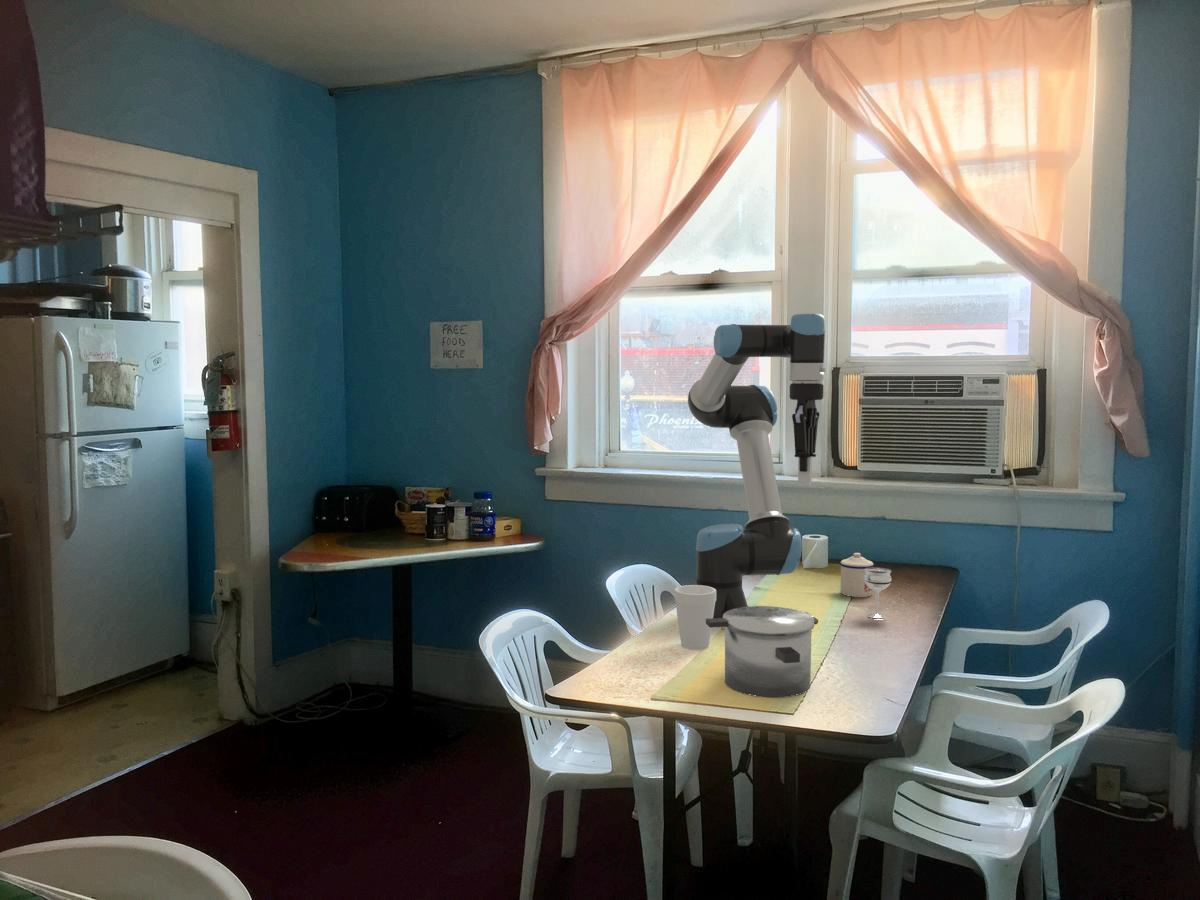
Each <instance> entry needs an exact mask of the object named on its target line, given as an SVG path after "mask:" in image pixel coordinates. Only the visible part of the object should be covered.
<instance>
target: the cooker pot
mask: <svg viewBox="0 0 1200 900" xmlns="http://www.w3.org/2000/svg"><path fill="white" fill-rule="evenodd" d="M811 668H812V630H811V631H809V632H806V633H802V634H798V635H791V636H761V635H752V634H746V633H742V632H738V631H734V630H732V629H729V628H728V627H724V683H725V685H726V686H727V687H728V688H729V689H731V690H733V691H734V692H735V691H736V692H737V693H740V692H741V693H740V694H744V693H745V694H744V695H748V694H751V695H750V696H753V695H756V696H755V697H759V696H762V698H763V697H764V698H788V697H787V696H789V697H792V696H791V695H795V696H797V695H796V694H799V695H801V694H800V693H802V694H804V693H806V692H808V691H809V690H810V689H811V675H812V674H811V672H812V671H811ZM808 689H809V690H808ZM807 690H808V691H807ZM805 691H806V692H805ZM803 692H804V693H803ZM785 696H786V697H785Z"/></svg>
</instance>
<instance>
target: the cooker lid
mask: <svg viewBox="0 0 1200 900" xmlns="http://www.w3.org/2000/svg"><path fill="white" fill-rule="evenodd" d="M818 623H819V619H818V618H816V617H815V616H813V615H812V614H811V613H809V612H807V611H805V612H804V611H802V610H797V609H793V608H789V607H783V606H772V605H771V606H770V605H766V606H765V605H759V606H758V605H753V606H748V607H741V608H736V609H732V610H729V611H727V612H725V613H724V614H723V618H709V619H706V624H707V625H708V626H709V627H710V628H712V629H713V628H725V627H728V628H729V629H732V630H734V631H738V632H742V633H746V634H752V635H761V636H791V635H798V634H802V633H806V632H809V631H811V632H812V630H813V629H814V627H815V625H818Z"/></svg>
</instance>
